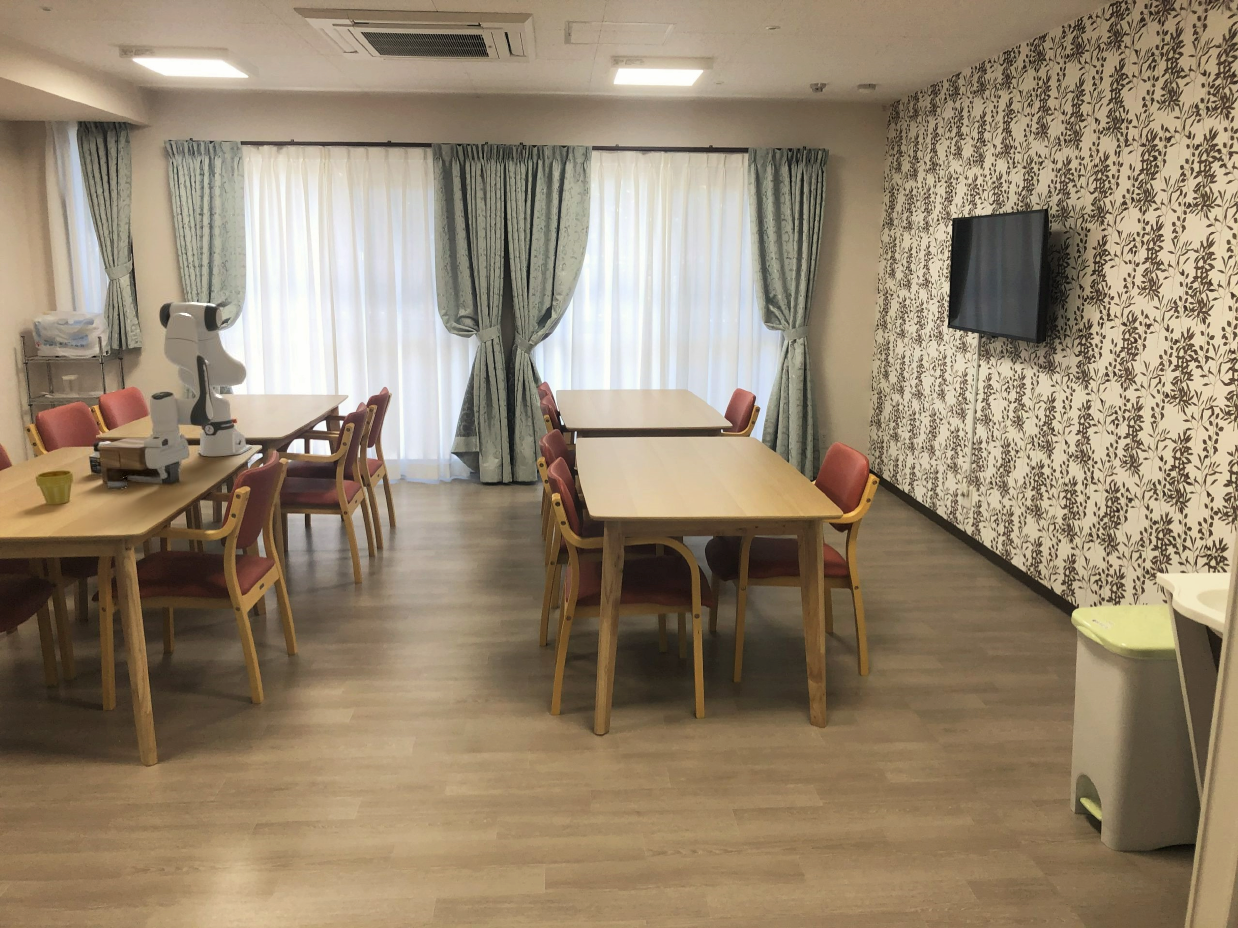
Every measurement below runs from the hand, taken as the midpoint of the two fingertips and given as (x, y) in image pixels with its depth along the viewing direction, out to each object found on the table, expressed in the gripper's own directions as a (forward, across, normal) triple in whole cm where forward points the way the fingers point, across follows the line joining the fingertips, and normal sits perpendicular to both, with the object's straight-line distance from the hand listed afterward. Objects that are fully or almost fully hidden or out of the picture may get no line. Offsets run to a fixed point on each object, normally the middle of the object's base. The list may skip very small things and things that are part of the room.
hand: (170, 475), depth 328 cm
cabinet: (+3, -4, -16) cm, 17 cm away
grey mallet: (+3, -1, -8) cm, 8 cm away
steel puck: (+3, +10, -14) cm, 17 cm away
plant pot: (+3, +31, -20) cm, 37 cm away
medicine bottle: (+3, -11, -34) cm, 36 cm away
